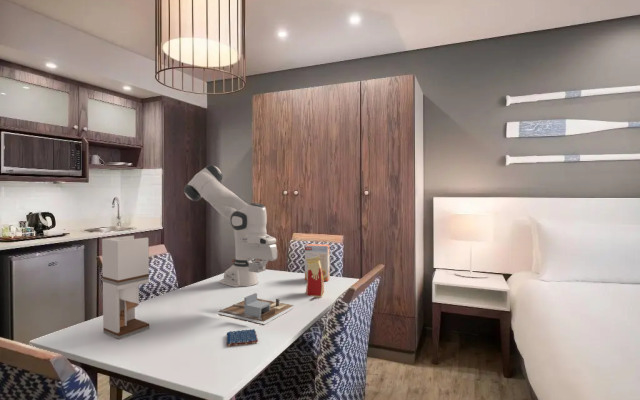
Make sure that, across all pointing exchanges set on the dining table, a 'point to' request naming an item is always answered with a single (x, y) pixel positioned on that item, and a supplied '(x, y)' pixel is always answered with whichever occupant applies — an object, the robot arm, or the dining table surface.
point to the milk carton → (315, 278)
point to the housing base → (274, 310)
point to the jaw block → (255, 266)
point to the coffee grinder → (123, 284)
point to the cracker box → (324, 254)
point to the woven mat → (241, 337)
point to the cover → (255, 306)
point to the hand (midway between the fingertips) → (257, 268)
